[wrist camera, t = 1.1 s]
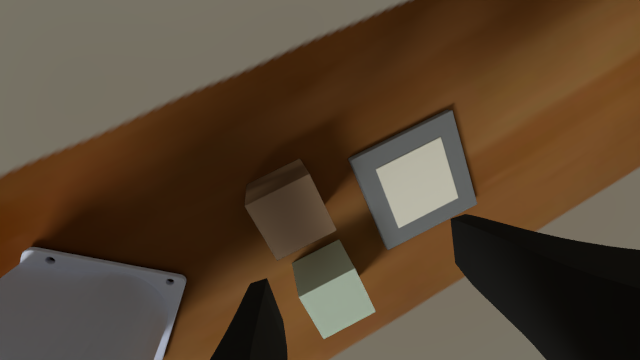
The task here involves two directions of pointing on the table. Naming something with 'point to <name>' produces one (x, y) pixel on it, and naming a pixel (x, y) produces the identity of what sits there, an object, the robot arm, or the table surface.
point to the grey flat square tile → (415, 179)
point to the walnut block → (288, 209)
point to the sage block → (331, 289)
